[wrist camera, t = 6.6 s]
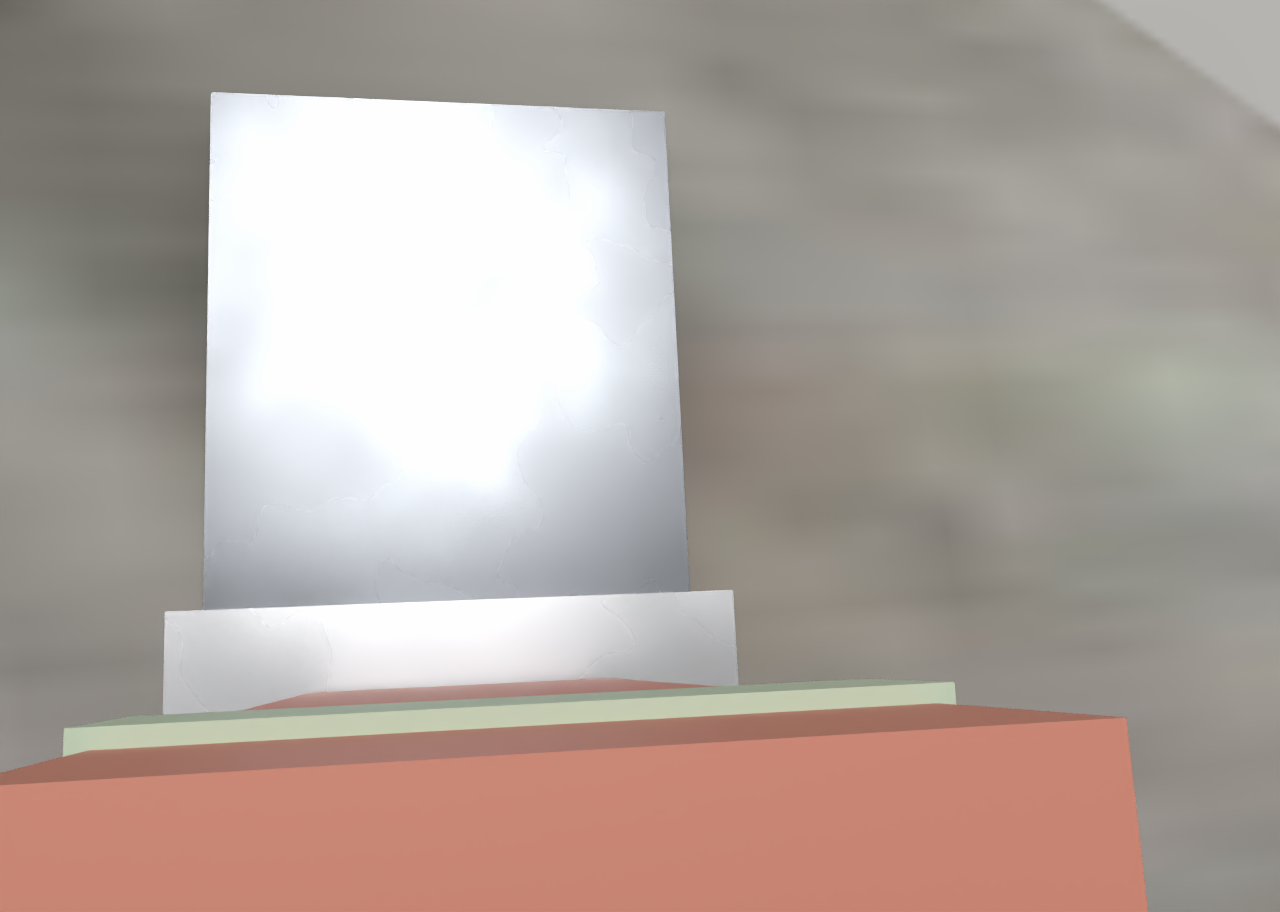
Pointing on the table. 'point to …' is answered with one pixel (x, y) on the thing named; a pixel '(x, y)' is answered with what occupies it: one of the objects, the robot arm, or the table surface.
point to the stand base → (439, 406)
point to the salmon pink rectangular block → (582, 804)
